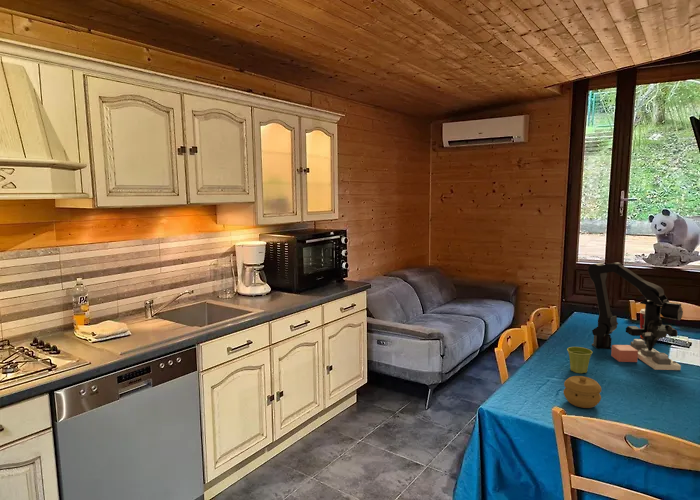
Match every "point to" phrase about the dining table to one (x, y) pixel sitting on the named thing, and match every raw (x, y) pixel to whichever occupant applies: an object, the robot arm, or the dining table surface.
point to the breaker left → (639, 342)
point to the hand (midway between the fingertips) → (649, 350)
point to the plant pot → (579, 359)
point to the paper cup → (642, 319)
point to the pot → (582, 391)
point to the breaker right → (661, 356)
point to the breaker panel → (655, 359)
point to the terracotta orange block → (624, 353)
